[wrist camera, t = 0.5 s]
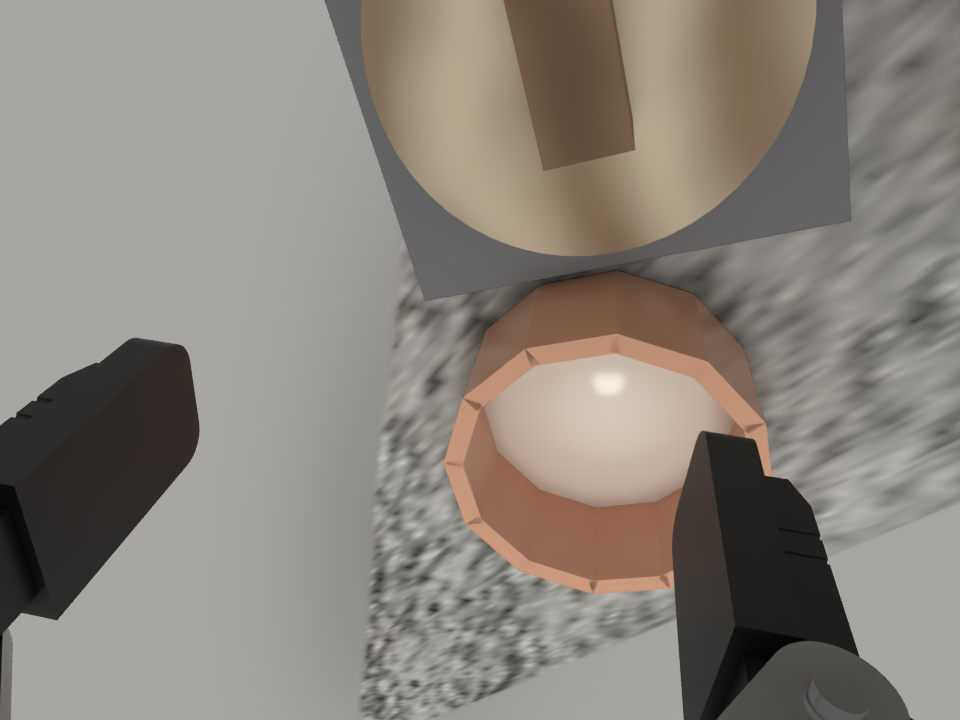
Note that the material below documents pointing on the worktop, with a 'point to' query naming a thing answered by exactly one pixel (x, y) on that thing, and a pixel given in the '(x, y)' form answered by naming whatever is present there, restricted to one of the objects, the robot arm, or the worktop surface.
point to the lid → (583, 109)
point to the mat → (739, 217)
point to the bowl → (595, 427)
